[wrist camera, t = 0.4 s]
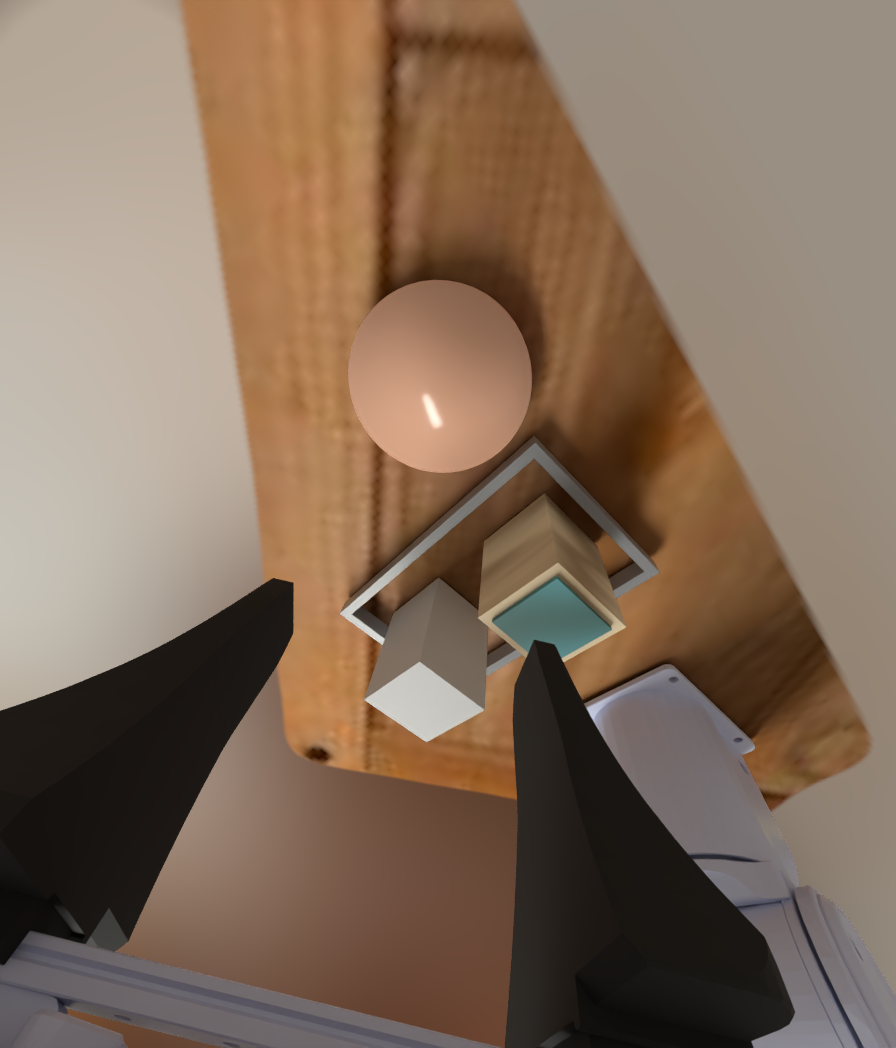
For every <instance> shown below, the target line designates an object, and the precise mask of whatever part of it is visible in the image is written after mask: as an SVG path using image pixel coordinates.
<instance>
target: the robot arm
mask: <svg viewBox="0 0 896 1048" xmlns="http://www.w3.org/2000/svg"><path fill="white" fill-rule="evenodd" d="M292 635H293V583H292V582H288V581H284V580H279V579H275V578H273V579H271V580H269V581H268V582H266V583H265V584H263V585H261V586H260V587H258V588H257V589H255V590H254V591H252V592H251V593H249V594H248V595H246V596H244V597H243V598H241V599H240V600H238V601H237V602H235V603H234V604H232V605H231V606H229V607H227V608H226V609H224V610H222V611H221V612H219V613H218V614H216V615H214V616H213V617H211V618H209V619H208V620H206V621H204V622H203V623H201V624H199V625H198V626H196V627H194V628H192V629H191V630H189V631H187V632H186V633H183V634H182V635H180V636H178V637H176V638H175V639H173V640H171V641H169V642H167V643H166V644H163V645H161V646H160V647H158V648H156V649H154V650H152V651H150V652H148V653H146V654H143V655H142V656H139V657H137V658H135V659H133V660H131V661H129V662H127V663H124V664H122V665H120V666H118V667H115V668H113V669H110V670H108V671H106V672H103V673H101V674H98V675H96V676H94V677H91V678H89V679H86V680H84V681H82V682H79V683H77V684H74V685H72V686H69V687H67V688H64V689H61V690H59V691H56V692H53V693H50V694H48V695H45V696H42V697H40V698H37V699H34V700H31V701H28V702H25V703H22V704H19V705H16V706H14V707H10V708H8V709H5V710H1V711H0V1048H128V1047H127V1046H126V1045H125V1044H124V1043H123V1035H122V1034H119V1033H117V1032H114V1031H111V1030H108V1029H106V1028H103V1027H100V1026H97V1025H95V1024H92V1023H89V1022H86V1021H84V1020H81V1019H78V1018H75V1017H73V1016H70V1015H68V1011H67V1009H66V1008H68V1009H71V1010H75V1011H79V1012H84V1013H87V1014H91V1015H96V1016H99V1017H103V1018H107V1019H111V1020H115V1021H119V1022H123V1023H127V1024H131V1025H135V1026H139V1027H143V1028H147V1029H151V1030H155V1031H160V1032H164V1033H168V1034H172V1035H175V1036H179V1037H183V1038H187V1039H191V1040H195V1041H200V1042H203V1043H207V1044H212V1045H215V1046H219V1047H223V1048H500V1047H496V1046H492V1045H488V1044H485V1043H480V1042H477V1041H472V1040H468V1039H464V1038H460V1037H456V1036H452V1035H448V1034H444V1033H440V1032H436V1031H432V1030H428V1029H424V1028H420V1027H416V1026H412V1025H408V1024H404V1023H400V1022H396V1021H392V1020H388V1019H384V1018H380V1017H376V1016H372V1015H368V1014H364V1013H360V1012H356V1011H352V1010H348V1009H344V1008H339V1007H335V1006H331V1005H327V1004H324V1003H320V1002H316V1001H311V1000H307V999H303V998H299V997H295V996H291V995H287V994H283V993H279V992H275V991H271V990H267V989H263V988H259V987H255V986H251V985H247V984H243V983H239V982H235V981H231V980H227V979H223V978H219V977H215V976H211V975H207V974H202V973H198V972H194V971H190V970H186V969H183V968H178V967H175V966H171V965H166V964H162V963H159V962H155V961H150V960H146V959H142V958H138V957H134V956H130V955H126V954H122V953H118V952H115V951H116V950H118V949H119V948H120V947H122V946H123V945H124V944H125V943H127V942H128V941H129V939H130V936H131V934H132V932H133V930H134V927H135V925H136V923H137V921H138V918H139V916H140V914H141V912H142V910H143V908H144V905H145V903H146V901H147V899H148V897H149V895H150V893H151V890H152V888H153V886H154V884H155V882H156V880H157V878H158V875H159V873H160V871H161V869H162V867H163V865H164V863H165V861H166V859H167V857H168V855H169V853H170V850H171V849H172V847H173V845H174V842H175V840H176V838H177V836H178V834H179V832H180V830H181V828H182V826H183V824H184V822H185V820H186V818H187V816H188V814H189V812H190V810H191V809H192V807H193V805H194V803H195V801H196V799H197V797H198V794H199V793H200V791H201V789H202V787H203V785H204V783H205V781H206V779H207V778H208V776H209V774H210V772H211V770H212V768H213V767H214V765H215V763H216V761H217V759H218V757H219V755H220V753H221V752H222V750H223V748H224V747H225V745H226V743H227V741H228V740H229V738H230V736H231V735H232V733H233V732H234V730H235V729H236V727H237V726H238V724H239V723H240V721H241V720H242V718H243V717H244V715H245V714H246V712H247V711H248V709H249V707H250V706H251V704H252V703H253V701H254V700H255V698H256V697H257V695H258V694H259V692H260V691H261V689H262V688H263V686H264V685H265V683H266V682H267V680H268V679H269V677H270V676H271V674H272V672H273V671H274V669H275V668H276V666H277V665H278V663H279V661H280V659H281V657H282V655H283V653H284V651H285V649H286V647H287V645H288V643H289V641H290V639H291V637H292ZM513 736H514V754H515V770H516V787H517V806H518V832H517V833H518V834H517V865H516V888H515V889H516V890H515V910H514V927H513V944H512V960H511V974H510V988H509V1001H508V1014H507V1026H506V1038H505V1048H896V995H895V993H894V992H893V990H892V988H891V987H890V985H889V983H888V981H887V980H886V978H885V976H884V975H883V973H882V972H881V970H880V968H879V966H878V965H877V963H876V962H875V960H874V958H873V956H872V955H871V953H870V952H869V950H868V949H867V947H866V945H865V944H864V942H863V940H862V939H861V937H860V936H859V934H858V933H857V931H856V930H855V928H854V927H853V925H852V924H851V922H850V921H849V919H848V918H847V916H846V915H845V914H844V912H843V911H842V910H841V908H840V907H839V906H838V905H837V904H836V903H834V902H833V901H831V900H829V899H828V898H826V897H825V896H823V895H821V894H820V893H819V892H818V891H817V890H816V889H814V888H813V887H811V886H808V885H807V886H804V887H799V880H798V873H797V868H796V865H795V862H794V859H793V856H792V854H791V852H790V850H789V847H788V846H787V843H786V842H785V840H784V838H783V836H782V834H781V832H780V830H779V828H778V826H777V824H776V822H775V820H774V818H773V816H772V814H771V812H770V810H769V808H768V806H767V804H766V802H765V800H764V798H763V796H762V794H761V792H760V790H759V788H758V787H757V785H756V783H755V781H754V779H753V777H752V775H751V773H750V771H749V769H748V767H747V765H746V763H745V761H744V759H743V757H742V754H745V753H748V752H751V751H753V750H754V748H755V745H754V743H753V742H752V740H751V739H750V738H749V737H748V736H747V735H746V734H745V733H744V732H743V731H742V730H741V729H740V728H738V727H737V726H736V725H735V724H734V723H733V722H732V721H731V720H730V719H729V718H728V717H727V716H726V715H725V714H724V713H723V712H722V711H721V710H720V709H719V708H718V707H716V706H715V705H714V704H713V703H712V702H711V701H710V700H709V699H708V698H707V697H706V696H705V695H704V694H703V693H702V692H701V691H700V690H699V689H698V688H697V687H695V686H694V685H693V684H692V683H691V682H690V681H689V680H688V679H687V678H686V677H685V676H684V675H683V674H682V673H681V672H680V671H679V670H678V669H677V668H676V667H674V666H673V665H670V664H665V665H662V666H660V667H658V668H656V669H654V670H652V671H650V672H647V673H645V674H643V675H641V676H639V677H637V678H635V679H633V680H631V681H629V682H627V683H625V684H623V685H621V686H619V687H617V688H615V689H613V690H611V691H609V692H607V693H605V694H603V695H601V696H599V697H597V698H595V699H592V700H590V701H588V702H586V703H583V701H582V699H581V697H580V695H579V693H578V691H577V689H576V687H575V685H574V683H573V681H572V679H571V677H570V675H569V673H568V671H567V669H566V667H565V665H564V662H563V660H562V658H561V656H560V654H559V652H558V650H557V648H556V646H555V644H551V643H547V642H543V641H538V640H533V643H532V645H531V648H530V650H529V652H528V655H527V657H526V660H525V662H524V664H523V667H522V669H521V672H520V674H519V676H518V679H517V681H516V684H515V689H514V704H513Z"/></svg>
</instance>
